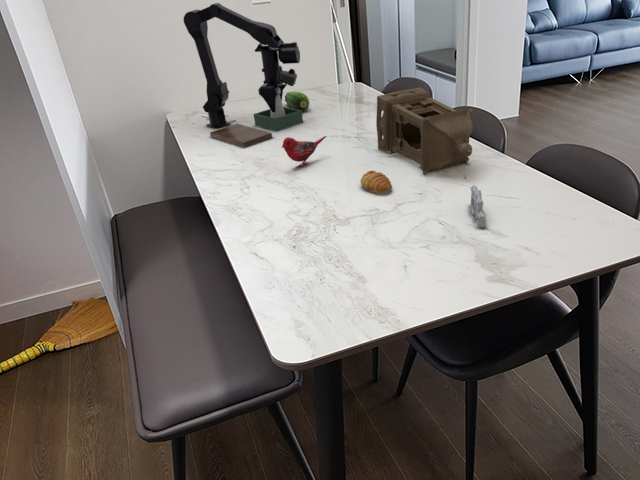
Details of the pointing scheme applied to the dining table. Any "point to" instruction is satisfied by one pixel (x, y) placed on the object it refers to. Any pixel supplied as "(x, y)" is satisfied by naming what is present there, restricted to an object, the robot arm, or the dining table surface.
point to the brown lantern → (423, 129)
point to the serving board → (241, 135)
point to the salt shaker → (278, 107)
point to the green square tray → (278, 119)
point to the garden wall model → (477, 206)
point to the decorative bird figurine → (299, 149)
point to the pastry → (376, 182)
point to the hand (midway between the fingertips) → (276, 108)
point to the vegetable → (297, 100)
